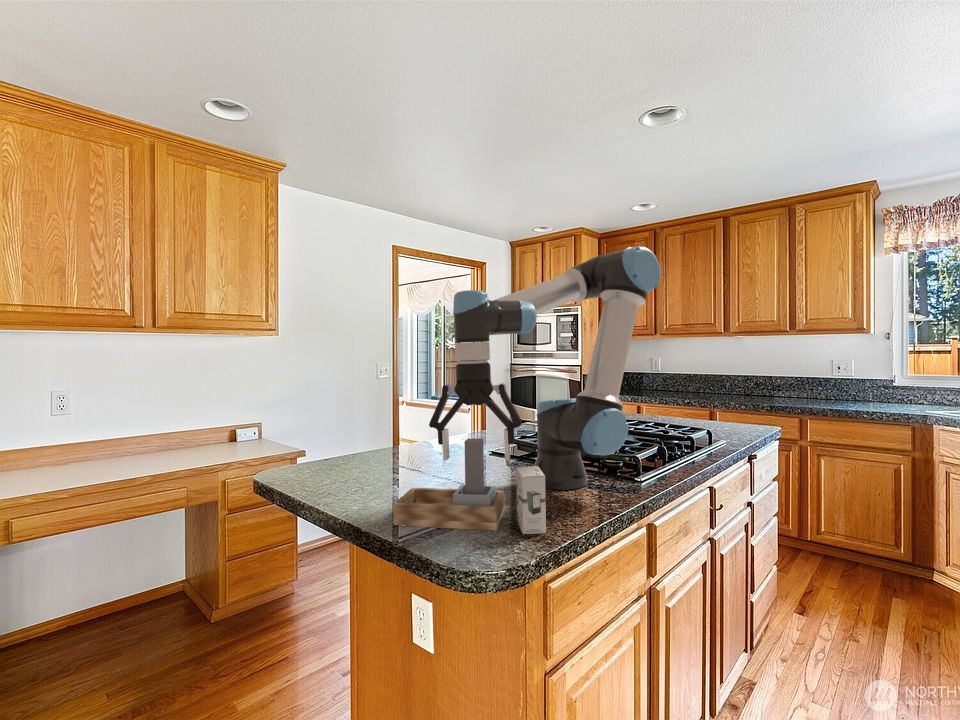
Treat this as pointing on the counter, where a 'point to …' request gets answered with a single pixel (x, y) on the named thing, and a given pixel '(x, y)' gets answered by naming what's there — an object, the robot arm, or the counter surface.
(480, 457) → the grey square-based post
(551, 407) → the robot arm
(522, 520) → the ink box
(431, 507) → the bay
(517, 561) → the counter surface
